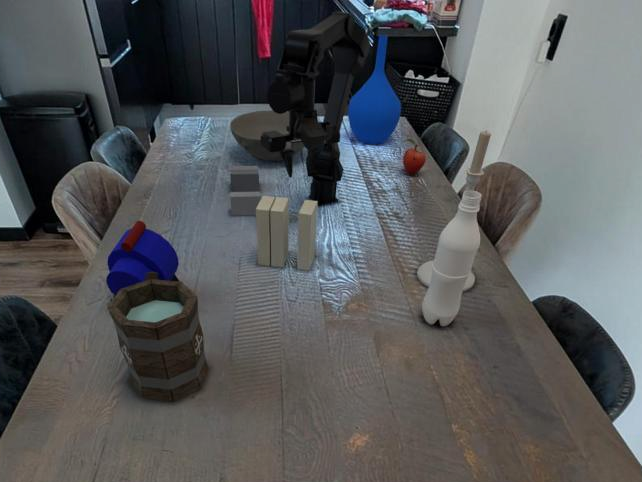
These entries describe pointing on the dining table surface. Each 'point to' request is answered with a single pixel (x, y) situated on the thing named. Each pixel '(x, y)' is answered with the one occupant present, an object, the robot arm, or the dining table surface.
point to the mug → (160, 337)
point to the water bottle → (453, 262)
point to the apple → (413, 160)
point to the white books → (272, 230)
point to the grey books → (244, 190)
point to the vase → (375, 104)
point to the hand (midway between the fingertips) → (300, 175)
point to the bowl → (252, 127)
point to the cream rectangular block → (306, 234)
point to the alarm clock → (140, 258)
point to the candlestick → (472, 180)
